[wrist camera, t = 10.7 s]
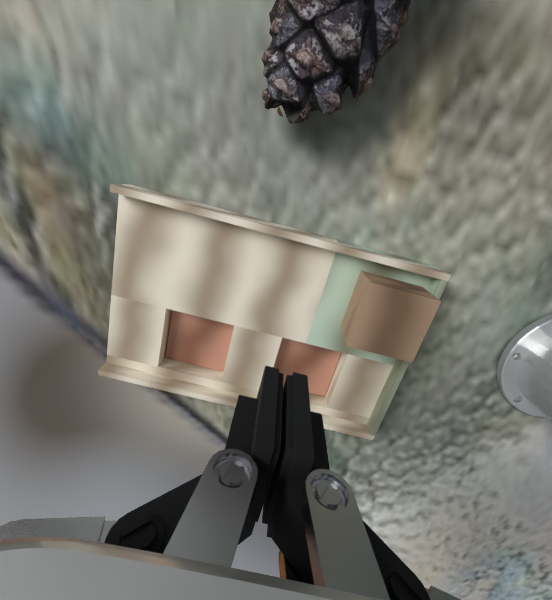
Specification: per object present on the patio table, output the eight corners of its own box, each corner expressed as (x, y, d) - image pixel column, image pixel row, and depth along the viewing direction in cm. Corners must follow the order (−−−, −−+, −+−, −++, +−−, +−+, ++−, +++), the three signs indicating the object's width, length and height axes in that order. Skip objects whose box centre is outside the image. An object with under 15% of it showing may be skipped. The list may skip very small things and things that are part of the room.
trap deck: (433, 265, 30) (451, 275, 27) (365, 417, 37) (372, 440, 34) (130, 184, 29) (110, 184, 26) (115, 357, 36) (98, 374, 32)
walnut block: (421, 286, 29) (441, 301, 25) (397, 341, 31) (412, 362, 27) (361, 270, 29) (371, 282, 25) (340, 326, 31) (347, 346, 27)
